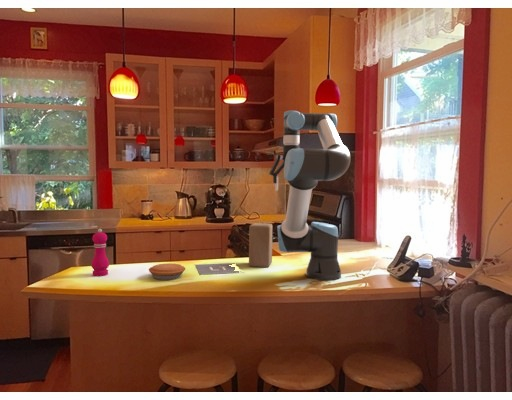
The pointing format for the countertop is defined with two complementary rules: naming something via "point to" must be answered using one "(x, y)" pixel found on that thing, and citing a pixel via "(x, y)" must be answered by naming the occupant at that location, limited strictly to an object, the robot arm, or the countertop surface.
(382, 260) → the countertop surface
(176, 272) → the pie
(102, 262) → the pepper mill
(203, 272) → the board
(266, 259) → the block
